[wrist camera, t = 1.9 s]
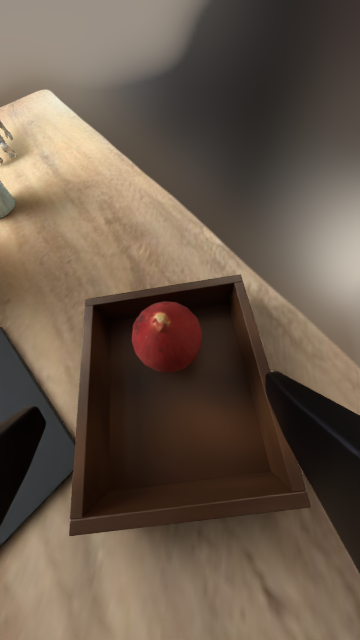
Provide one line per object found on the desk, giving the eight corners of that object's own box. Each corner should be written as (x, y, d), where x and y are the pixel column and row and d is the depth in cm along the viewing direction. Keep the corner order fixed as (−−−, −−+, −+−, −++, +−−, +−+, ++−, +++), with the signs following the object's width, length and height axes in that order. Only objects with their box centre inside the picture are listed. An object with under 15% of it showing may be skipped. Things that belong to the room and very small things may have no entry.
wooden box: (282, 480, 15) (311, 508, 11) (101, 502, 16) (68, 537, 12) (233, 297, 22) (240, 273, 18) (105, 317, 22) (85, 298, 18)
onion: (133, 360, 20) (95, 335, 12) (162, 313, 22) (143, 267, 14) (185, 388, 18) (175, 379, 11) (211, 335, 20) (217, 297, 13)
